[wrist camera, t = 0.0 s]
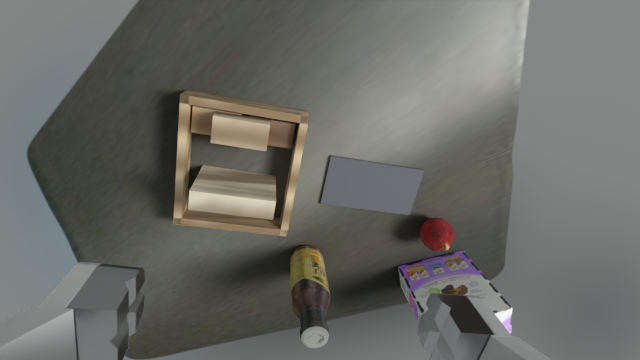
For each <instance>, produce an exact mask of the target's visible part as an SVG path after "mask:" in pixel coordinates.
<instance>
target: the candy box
mask: <svg viewBox="0 0 640 360" xmlns="http://www.w3.org/2000/svg"><path fill="white" fill-rule="evenodd" d="M398 271H399V279H400V286H401V288H402V291H403V293H404V294H405V297H406V299H407V301H408V303H409V305H410V307H411V309H412V310H413V313H414V315H415V317H416V319H417V321H418V323H419V321H420V318H421V315H422V314H423V313H425V312H426V311H427V310H428V307H427V305H426V302H427V300H428V297H429V296H430V295H431V294H432V293H438V294H451V295H472V296H479V297H481V298H482V299H483V300H484V301H485V302H486V304H487V305H488V306H489V307H490V309H491V310H492V311H493V313H494V314H495V315H496V316H497V318H498V319H499V320H500V322H501V323H502V324H503V325H504V327H505V328H506V329H507V331H508V332H509V333H511V327H512V307H511V306H510V305H509V304H508V302H507V301H506V300H505V299H504V298H503V297H502V295H501V294H500V293H499V292H498V291H497V290H496V289H495V287H494V286H493V285H492V284H491V283H490V281H489V280H488V279H487V278H486V277H485V276H484V275H483V273H482V272H481V271H480V270H479V269H478V268H477V267H476V265H475V264H474V263H473V262H472V261H471V260H470V259H469V257H468V256H467V255H466V254H465V252H464V251H458V252H454V253H450V254H446V255H442V256H438V257H434V258H430V259H426V260H422V261H418V262H414V263H410V264H405V265H402V266H398Z"/></svg>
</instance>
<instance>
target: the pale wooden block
mask: <svg viewBox="0 0 640 360" xmlns="http://www.w3.org/2000/svg"><path fill="white" fill-rule="evenodd" d="M275 206H276V175H270V174H263V173H255V172H248V171H241V170H234V169H227V168H220V167H213V166H205V165H203V166H202V168H201V170H200V171H199V173H198V175H197V177H196V179H195V181H194V183H193V185H192V187H191V189H190V190H189V203H188V210H194V211H202V212H211V213H219V214H228V215H236V216H245V217H253V218H262V219H271V220H273V217H274V212H275Z"/></svg>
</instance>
